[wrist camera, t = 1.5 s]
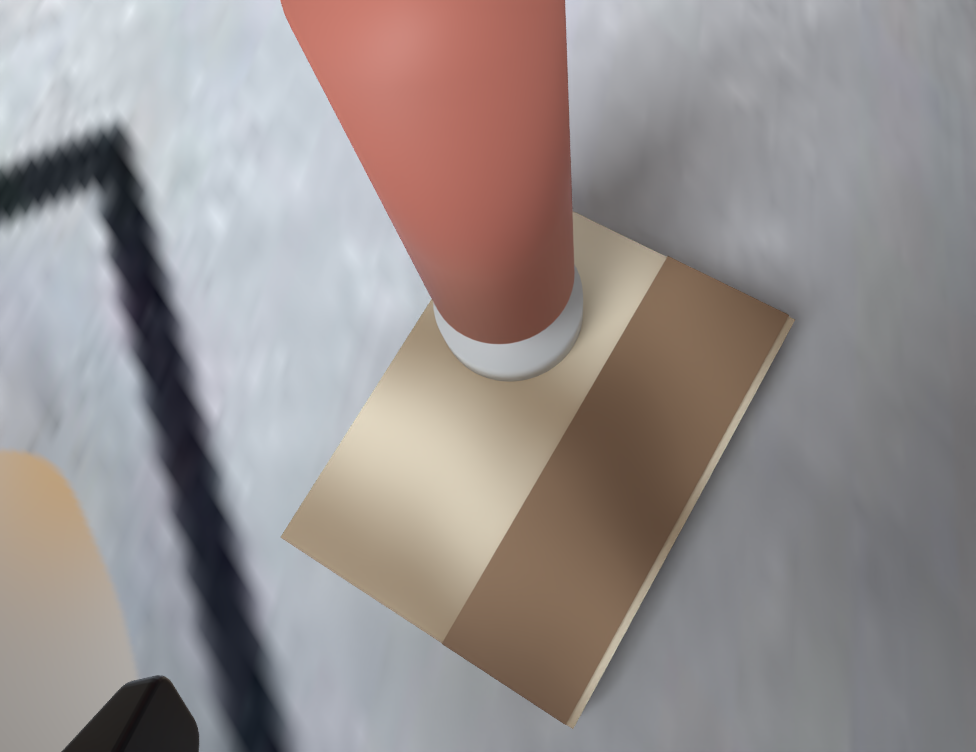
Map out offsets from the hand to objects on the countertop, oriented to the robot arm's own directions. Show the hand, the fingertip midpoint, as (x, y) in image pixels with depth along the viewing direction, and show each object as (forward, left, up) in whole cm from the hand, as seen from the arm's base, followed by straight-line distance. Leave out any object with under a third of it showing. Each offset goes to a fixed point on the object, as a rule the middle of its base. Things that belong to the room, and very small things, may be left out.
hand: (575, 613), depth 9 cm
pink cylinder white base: (+6, +6, -12) cm, 15 cm away
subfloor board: (+3, +3, -14) cm, 14 cm away
